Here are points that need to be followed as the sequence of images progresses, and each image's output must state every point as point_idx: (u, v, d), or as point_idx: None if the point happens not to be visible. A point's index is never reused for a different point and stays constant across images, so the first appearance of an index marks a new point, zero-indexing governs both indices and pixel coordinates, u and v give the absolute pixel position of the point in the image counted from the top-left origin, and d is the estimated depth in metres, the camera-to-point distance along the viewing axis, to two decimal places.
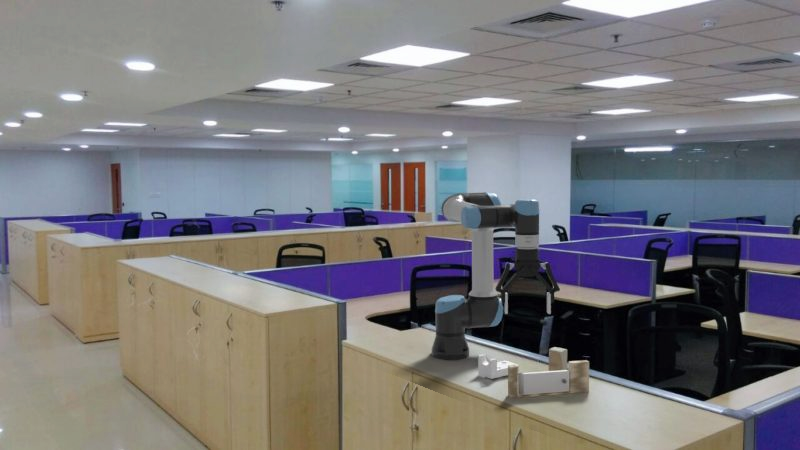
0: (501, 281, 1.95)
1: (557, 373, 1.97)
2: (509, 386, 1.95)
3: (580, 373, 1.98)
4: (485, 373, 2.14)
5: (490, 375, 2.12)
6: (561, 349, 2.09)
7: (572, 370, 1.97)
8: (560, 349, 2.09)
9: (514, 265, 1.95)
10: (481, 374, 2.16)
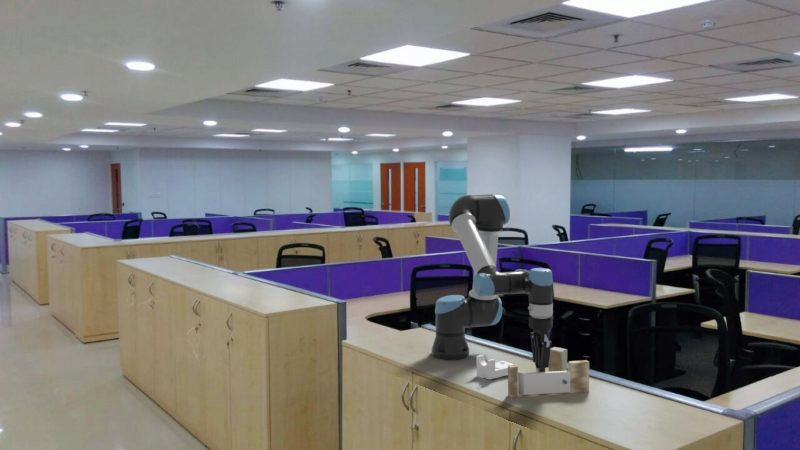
0: (532, 351, 2.03)
1: (557, 374, 1.96)
2: (509, 386, 1.95)
3: (580, 373, 1.98)
4: (483, 373, 2.13)
5: (488, 375, 2.11)
6: (561, 349, 2.09)
7: (572, 370, 1.97)
8: (560, 349, 2.09)
9: None
10: (479, 375, 2.15)
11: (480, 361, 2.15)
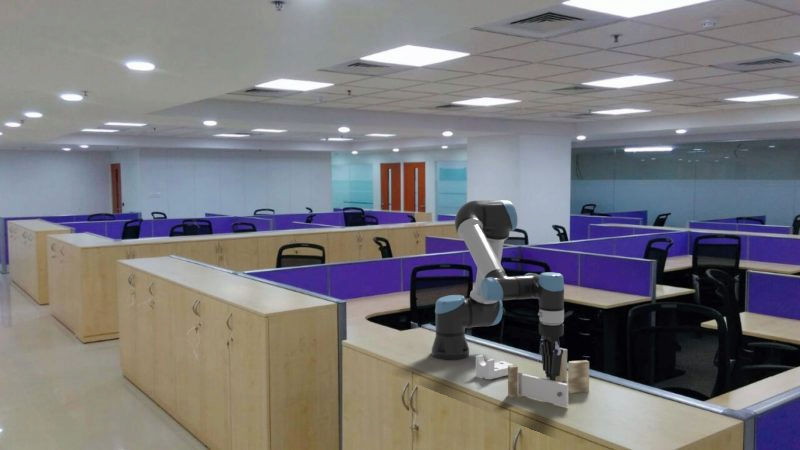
0: (542, 359, 1.95)
1: (553, 384, 1.87)
2: (509, 386, 1.95)
3: (580, 373, 1.98)
4: (482, 373, 2.13)
5: (487, 375, 2.11)
6: None
7: (572, 370, 1.97)
8: None
9: None
10: (478, 375, 2.15)
11: (479, 361, 2.15)
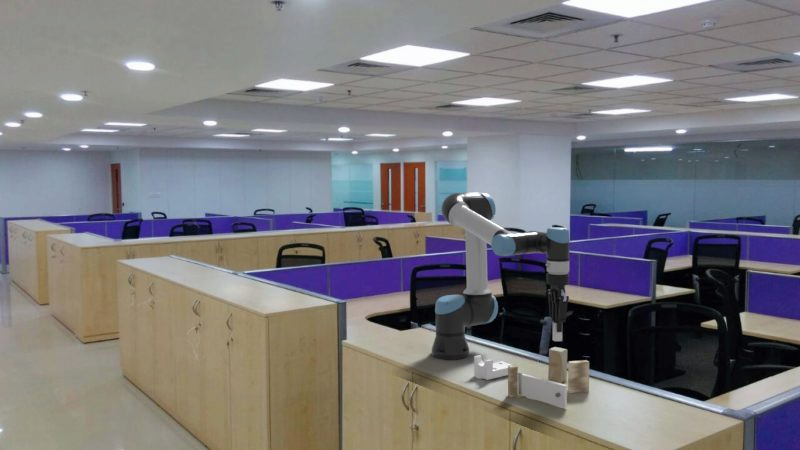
0: (549, 307, 2.12)
1: (552, 384, 1.86)
2: (509, 386, 1.95)
3: (580, 373, 1.98)
4: (481, 374, 2.13)
5: (486, 376, 2.11)
6: (561, 349, 2.09)
7: (572, 370, 1.97)
8: (560, 349, 2.09)
9: None
10: (477, 375, 2.15)
11: (478, 361, 2.15)
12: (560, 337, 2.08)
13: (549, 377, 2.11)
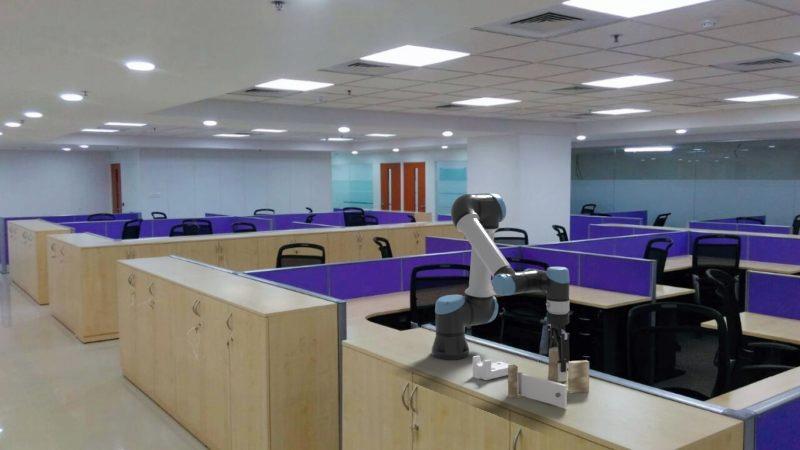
0: (547, 342, 2.16)
1: (552, 384, 1.86)
2: (509, 386, 1.95)
3: (580, 373, 1.98)
4: (479, 374, 2.13)
5: (484, 376, 2.10)
6: None
7: (572, 370, 1.97)
8: None
9: None
10: (475, 375, 2.15)
11: (476, 362, 2.15)
12: (564, 377, 2.07)
13: (549, 377, 2.11)
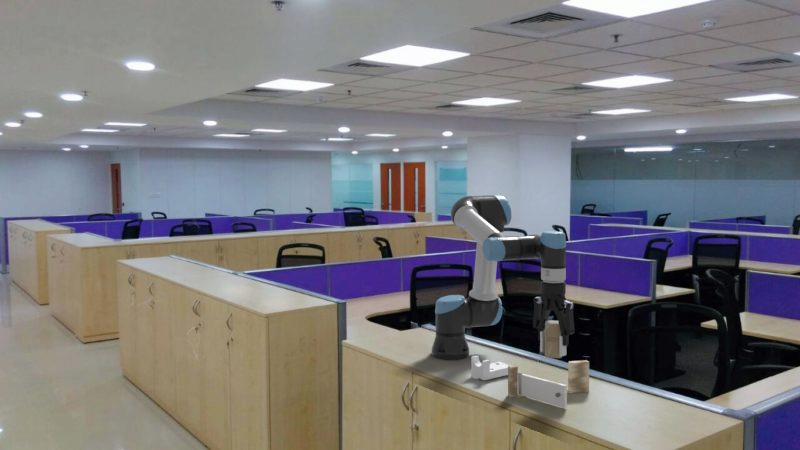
0: (534, 317, 1.95)
1: (552, 384, 1.86)
2: (509, 386, 1.95)
3: (580, 373, 1.98)
4: (478, 374, 2.12)
5: (483, 376, 2.10)
6: (557, 321, 1.91)
7: (572, 370, 1.97)
8: (556, 321, 1.91)
9: (540, 298, 1.93)
10: (474, 375, 2.14)
11: (475, 362, 2.15)
12: (565, 351, 1.89)
13: (547, 354, 1.90)
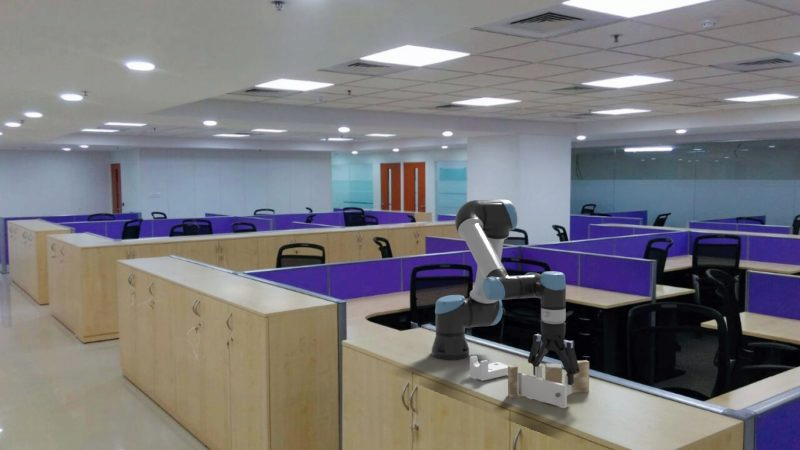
0: (531, 353, 1.96)
1: (552, 384, 1.86)
2: (509, 386, 1.95)
3: (580, 373, 1.98)
4: (476, 374, 2.12)
5: (481, 377, 2.10)
6: (557, 365, 1.92)
7: None
8: (556, 365, 1.92)
9: (540, 337, 1.94)
10: (472, 376, 2.14)
11: (473, 362, 2.14)
12: (570, 390, 1.88)
13: None
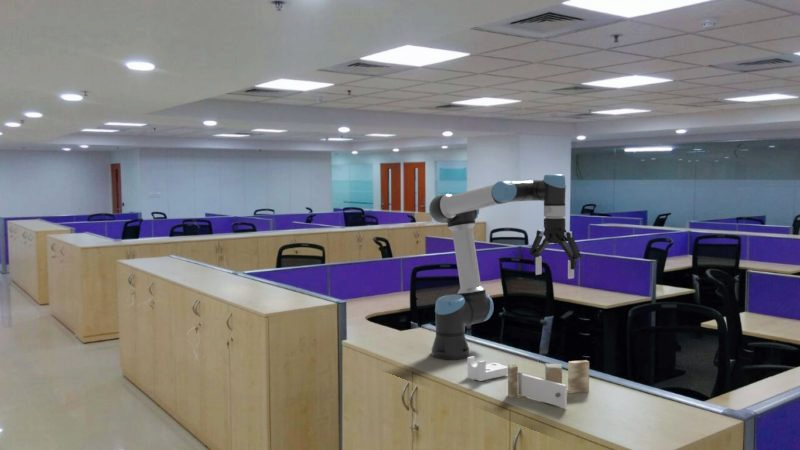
0: (533, 245, 2.23)
1: (552, 384, 1.86)
2: (509, 386, 1.95)
3: (580, 373, 1.98)
4: (474, 375, 2.12)
5: (478, 377, 2.10)
6: (557, 365, 1.92)
7: (572, 370, 1.97)
8: (556, 365, 1.92)
9: (543, 232, 2.20)
10: (470, 376, 2.14)
11: (471, 362, 2.14)
12: (573, 274, 2.14)
13: None
